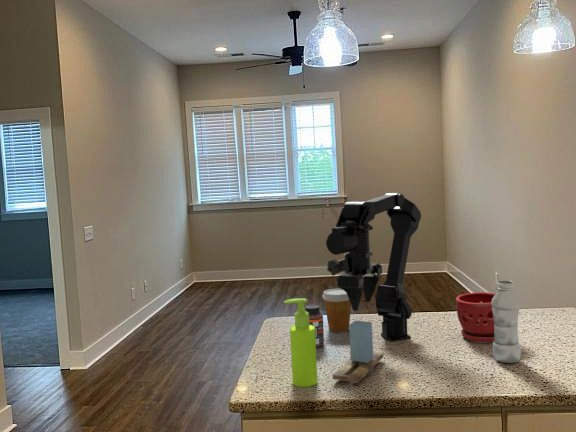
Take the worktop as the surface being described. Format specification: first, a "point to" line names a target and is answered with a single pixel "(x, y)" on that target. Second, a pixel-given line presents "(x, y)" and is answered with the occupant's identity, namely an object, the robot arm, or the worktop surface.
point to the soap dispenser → (303, 347)
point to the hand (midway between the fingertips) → (361, 306)
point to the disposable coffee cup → (337, 309)
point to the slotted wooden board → (357, 369)
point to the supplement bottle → (316, 323)
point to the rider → (361, 341)
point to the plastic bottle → (505, 323)
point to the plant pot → (476, 316)
